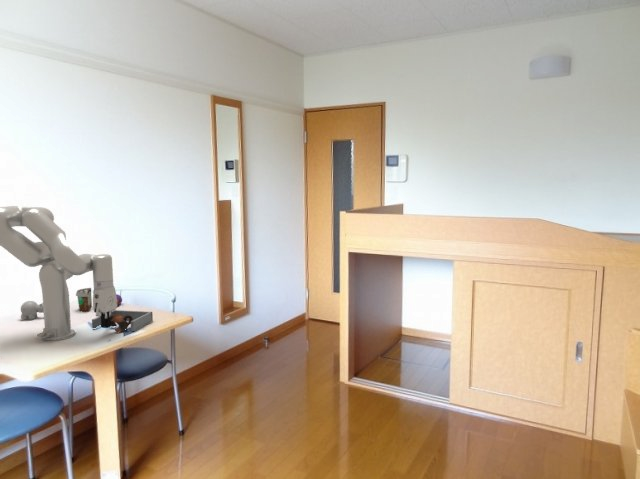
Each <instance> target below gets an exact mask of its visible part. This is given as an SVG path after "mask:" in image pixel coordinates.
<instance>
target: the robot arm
mask: <svg viewBox="0 0 640 479" xmlns="http://www.w3.org/2000/svg"><path fill="white" fill-rule="evenodd" d="M54 217H55V215H54V214H53V212H52V211H51V210H50V209H49V208H46V207H38V206H37V207H33V206H22V205H21V206H18V205H11V206H10V205H9V206H0V246H1V247H2V248H4V250H5V251H7V252H8V253H9V254H11V255H12V256H13V257H15V258H16V259H17V260H19V261H20V262H21V263H23V264H24V265H25V266H26V267H30V268H35V267H39V266H41V267H40V269H39V272H38V279H39V283H40V287H41V293H42V303H43V310H44V313H43V321H44V323H43V325H44V327H43V328H42V331H41V332H38V333H37V334H36V337H37V339H41V340H44V341H59V340H64V339H68V338H69V339H70V338H73V336H75V334H76V330H75V329H73V328H72V324H71V321H72V320H71V305H70V292H69V287H68V283H67V280H69V279H71V278H72V277H73V276H81V275H84V274H86V273H89V272H92V280H93V292H92V294H93V295H92V308H93V312H94V313H95V317H100V319H101V327H100V328H103V329H108V328H110V327H112V326H111V325H110V318H109V317H111V312H112V311H113V310H116V309H117V307H118V306H117V297H116V294H117V292H116V291H117V290H116V288H115V285H114V272H113V270H114V269H113V257H112V255H111V254H105V253H103V254H101V253H100V254H92V253H91V254H90V253H84V254H83V253H82V254H79V255H78V254H77V253H76V252H74V250H72V249H71V247H70V246H69V244H68V243H67V234H66V232H65V231H64V229H62V228H61V227H60V226H58V225H57V224H56V223H55V222H54V220H55V218H54ZM15 227H25V228H26V229H28V230H29V231H30V232H31V233H32V234H34V236H36V237H37V238H38V239H39V240H40V241H37V242H35V241H32V240H31V239H30V238H28V237H27V236H26V235H25V234H23V233H21V232H20V231H18V230H16V229H14V228H15Z"/></svg>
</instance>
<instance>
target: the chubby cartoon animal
mask: <svg viewBox="0 0 640 479" xmlns="http://www.w3.org/2000/svg"><path fill="white" fill-rule="evenodd" d="M20 313H21V315H20V319H21V320H22V321H23V320H30V321H32V320H35V319H36V318H38V314H37V313H40V314H41V313H43V314H44V310H43V302H42V303H39V304H38V303H37V302H36V301H33V300H27V301H25V302H24V303H22V305H21V306H20Z"/></svg>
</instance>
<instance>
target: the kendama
mask: <svg viewBox="0 0 640 479" xmlns="http://www.w3.org/2000/svg"><path fill="white" fill-rule="evenodd" d="M116 297H117V307H118V306H120V305H121V304H122V302H123V298H122V296H121V295H120V294H117V293H116Z"/></svg>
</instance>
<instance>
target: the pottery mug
mask: <svg viewBox="0 0 640 479" xmlns="http://www.w3.org/2000/svg"><path fill="white" fill-rule="evenodd" d="M109 318H110V325H111V326H110V327H112V326H116V327H115V328H114V331H115V333H116V332H119V331H122V332H124V331H123V330H125V329H127V330H128V328H129V325H130V326H131V321H133V317H132V316H131V315H126V316H120V314H115V315H113V316H111V317H109ZM127 318H129V321H126V320H127ZM112 319H113V321H111V320H112Z"/></svg>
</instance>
